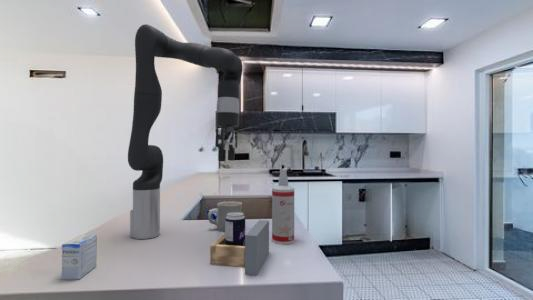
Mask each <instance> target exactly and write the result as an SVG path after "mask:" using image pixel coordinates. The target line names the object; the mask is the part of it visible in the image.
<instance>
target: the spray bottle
mask: <svg viewBox="0 0 533 300" xmlns="http://www.w3.org/2000/svg"><path fill="white" fill-rule="evenodd" d="M287 171H288V170H287V168H280V169H279V177H278V185H277V186H274V187H272V189H271V195H272V196H271V222H272V223H271V232H272V233H271V242H273V243H274V244H278V245H286V246H287V245H292V244H294V243H295V187H292V186H290V185H289V178H288V174H287V173H288V172H287Z"/></svg>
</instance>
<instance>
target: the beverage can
mask: <svg viewBox="0 0 533 300" xmlns="http://www.w3.org/2000/svg"><path fill="white" fill-rule="evenodd" d="M224 233H225V245H235V246H245V235H246V215H245V213H244V212H243V211H242V212H229V213H227V216H226V218H225V232H224Z"/></svg>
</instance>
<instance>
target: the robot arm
mask: <svg viewBox="0 0 533 300" xmlns="http://www.w3.org/2000/svg"><path fill="white" fill-rule="evenodd" d="M134 52H135V79H134V80H135V81H134V82H135V83H134V91H133V93H134V95H133V112H132V113H133V114H132V122H131V123H132V124H131V132H130V133H131V134H130V139H129V143H128V150H127V162H128V165H129V167H130V169H132V170H133V171H139V172H141V174H140V176H139V177H138V178H137V179H135V180H134V181H133V183H132V209H131V210H129V211H130V213H129V215H130V216H129V221H130V222H129V237H130V238H133V239H135V240H146V239H153V238H156V237H159V236H160V235H161V183H162V180H163V176H164V175H163V172H164V171H163V170H164V154H163V151H162V149H161V148H160V147H159V146H157V145H152V144H149V140H150V139H149V138H150V132H151V129H152V128H153V125H154V124H155V122H156V120H157V119H158V117H159V115H160V114H161V111H162V99H163V98H162V97H163V90H162V86H161V84H160V80H159V77H158V74H157V71H156V66H155V57H156V58H165V59H166V58H167V59H176V60H180V61H183V62H187V63H189V64H192V65H196V66H200V67H203V68H208V69H210V68H212V69H216V70H218V71H221V72H223V77H222V80H220V81H219V82H218V84H217V101H216V113H215V115H216V116H215V117H216V119H215V120H216V122H215V124H216V126H217V128H215V145H214V146H215V148H217V150H218V154H217V155H218V157H217V159H218V161H219V162H226V159H227V160H228V161H235V157H236V156H235V154H236V153H235V150H236V149H237V148H238V131H237V130H235V129H234V128H238V127H239V126H240V99H239V98H240V83H241V81H242V74H243V62H242V59H241V58H240V57H239V56H238V55H237V54H235V53H234V52H233V51H232V50H230V49H227V48H223V47H215V46H214V47H211V46H209V45H205V44H201V43H197V42H182V41H179V40H176V39H173V38H172V37H169V36H168V35H166V34H165V33H164V32H163V31H162V30H161V31H160V30H159V29H158V28H157V27H154V26H152V25H150V24H141V25H140V26H139V27H138V28H137V30H136V32H135V39H134ZM226 149H227V150H226ZM226 155H227V156H226ZM226 157H227V158H226Z"/></svg>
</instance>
